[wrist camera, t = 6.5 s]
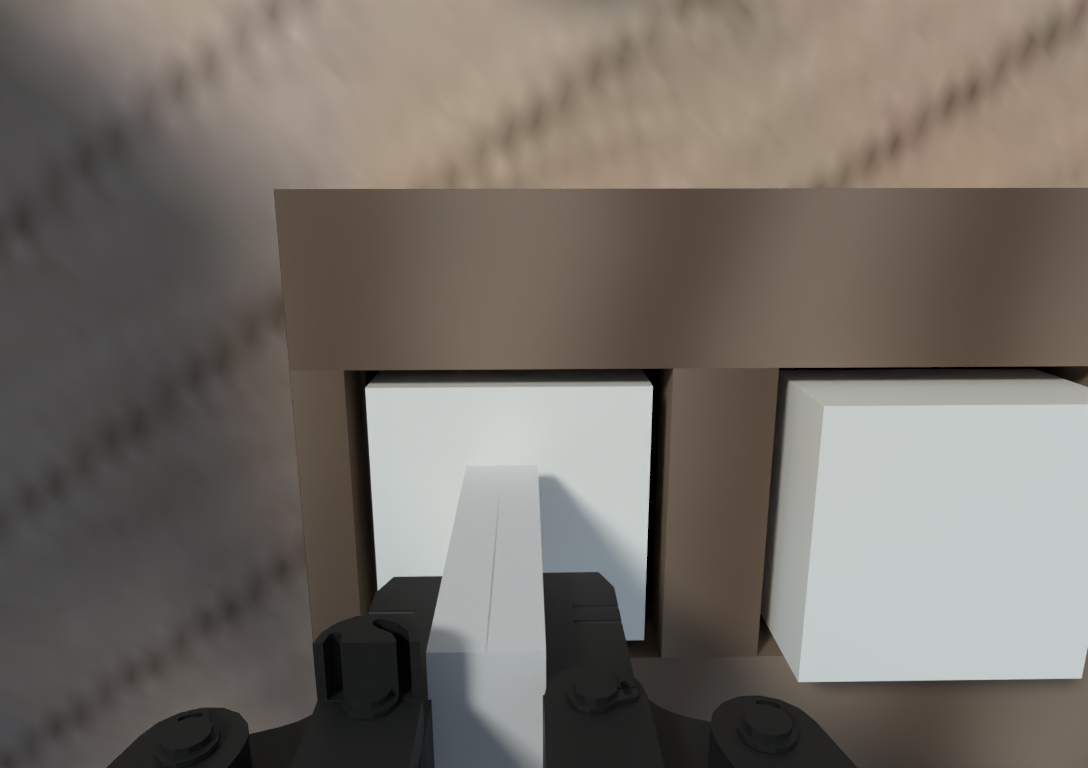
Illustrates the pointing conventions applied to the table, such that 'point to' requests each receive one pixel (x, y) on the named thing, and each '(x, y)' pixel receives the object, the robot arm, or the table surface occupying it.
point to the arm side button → (516, 439)
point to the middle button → (928, 525)
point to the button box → (690, 389)
